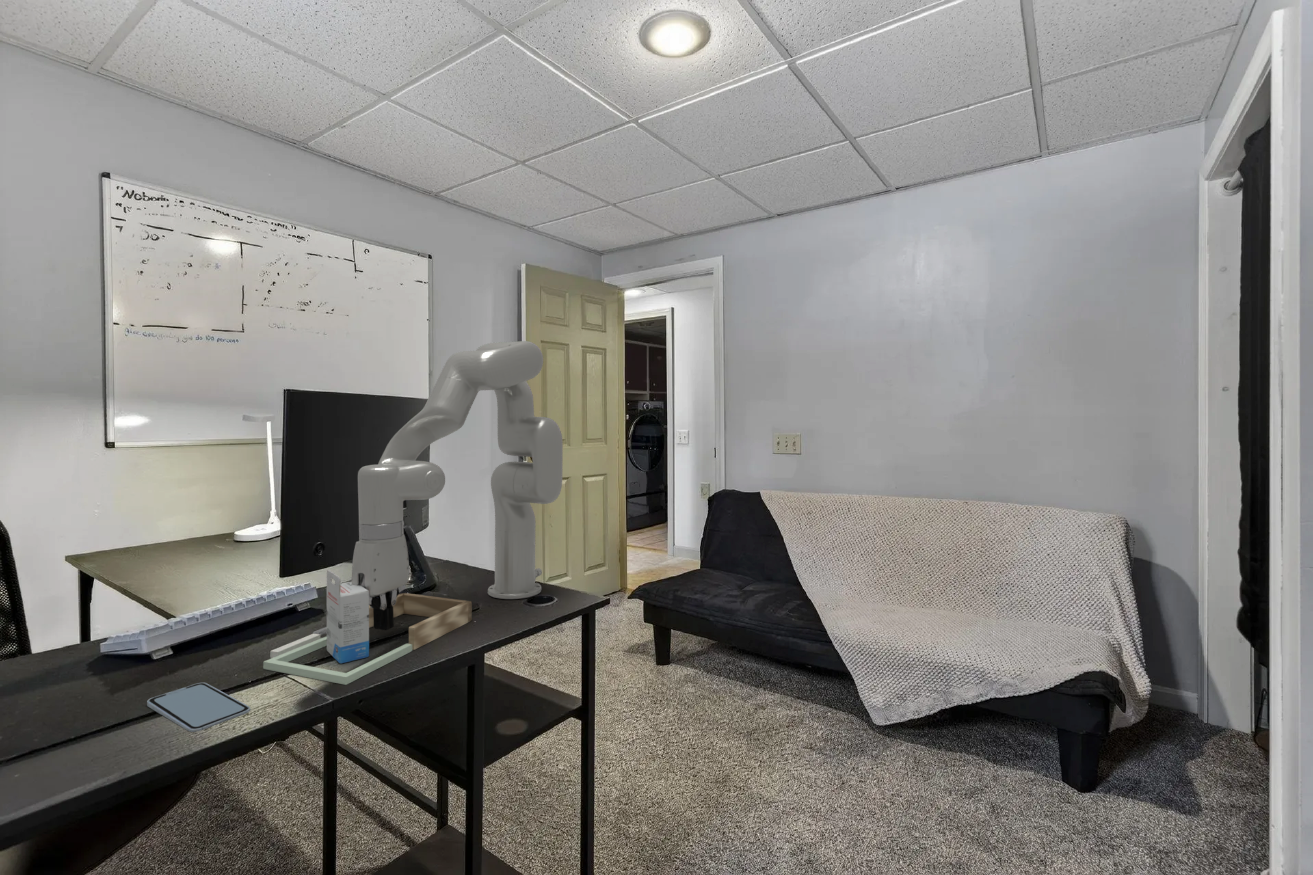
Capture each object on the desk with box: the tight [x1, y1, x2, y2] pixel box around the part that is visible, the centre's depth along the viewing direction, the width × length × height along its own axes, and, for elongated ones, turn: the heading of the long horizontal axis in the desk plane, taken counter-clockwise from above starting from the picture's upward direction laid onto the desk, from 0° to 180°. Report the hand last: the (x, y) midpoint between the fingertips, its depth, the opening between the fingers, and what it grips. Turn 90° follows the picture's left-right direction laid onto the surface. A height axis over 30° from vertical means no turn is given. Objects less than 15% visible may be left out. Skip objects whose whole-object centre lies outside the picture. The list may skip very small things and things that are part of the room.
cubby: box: [369, 592, 473, 651], centre depth 118 cm, size 17×17×4 cm
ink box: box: [326, 568, 370, 664], centre depth 105 cm, size 9×5×15 cm, turn 43°
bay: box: [262, 635, 413, 686], centre depth 103 cm, size 15×17×1 cm
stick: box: [269, 633, 321, 659], centre depth 107 cm, size 9×2×2 cm, turn 164°
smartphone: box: [146, 682, 251, 733], centre depth 85 cm, size 7×1×15 cm
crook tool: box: [312, 626, 327, 637], centre depth 119 cm, size 12×5×1 cm, turn 161°
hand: (383, 627), depth 112 cm, fingers closed
